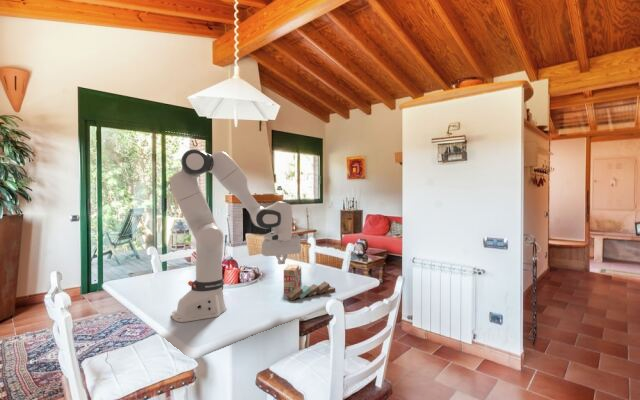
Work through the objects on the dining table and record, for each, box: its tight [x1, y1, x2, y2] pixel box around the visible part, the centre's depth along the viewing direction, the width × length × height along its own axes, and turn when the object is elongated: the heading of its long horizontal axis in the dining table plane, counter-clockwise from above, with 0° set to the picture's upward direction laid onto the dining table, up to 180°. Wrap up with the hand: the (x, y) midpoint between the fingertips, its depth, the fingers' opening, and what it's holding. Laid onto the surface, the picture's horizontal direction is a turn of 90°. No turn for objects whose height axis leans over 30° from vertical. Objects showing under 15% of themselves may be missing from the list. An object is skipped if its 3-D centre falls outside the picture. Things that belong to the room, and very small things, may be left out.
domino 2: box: [306, 284, 320, 298], centre depth 167 cm, size 2×4×7 cm
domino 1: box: [286, 286, 303, 302], centre depth 161 cm, size 2×4×7 cm
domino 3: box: [315, 281, 330, 296], centre depth 170 cm, size 2×4×7 cm
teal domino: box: [297, 284, 312, 300], centre depth 164 cm, size 2×4×7 cm
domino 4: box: [322, 286, 336, 295], centre depth 173 cm, size 2×4×7 cm
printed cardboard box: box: [283, 264, 302, 294], centre depth 182 cm, size 21×6×12 cm, turn 174°
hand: (281, 264), depth 156 cm, fingers closed
